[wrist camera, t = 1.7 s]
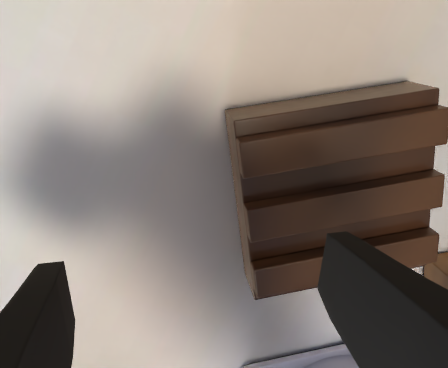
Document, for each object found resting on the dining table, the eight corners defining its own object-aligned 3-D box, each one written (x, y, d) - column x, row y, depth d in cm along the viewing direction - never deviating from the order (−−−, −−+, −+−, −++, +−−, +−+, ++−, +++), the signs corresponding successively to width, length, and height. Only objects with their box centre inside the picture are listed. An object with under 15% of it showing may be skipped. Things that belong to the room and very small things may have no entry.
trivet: (244, 273, 22) (258, 311, 19) (224, 109, 19) (237, 125, 16) (400, 242, 23) (436, 274, 20) (408, 80, 20) (452, 90, 17)
